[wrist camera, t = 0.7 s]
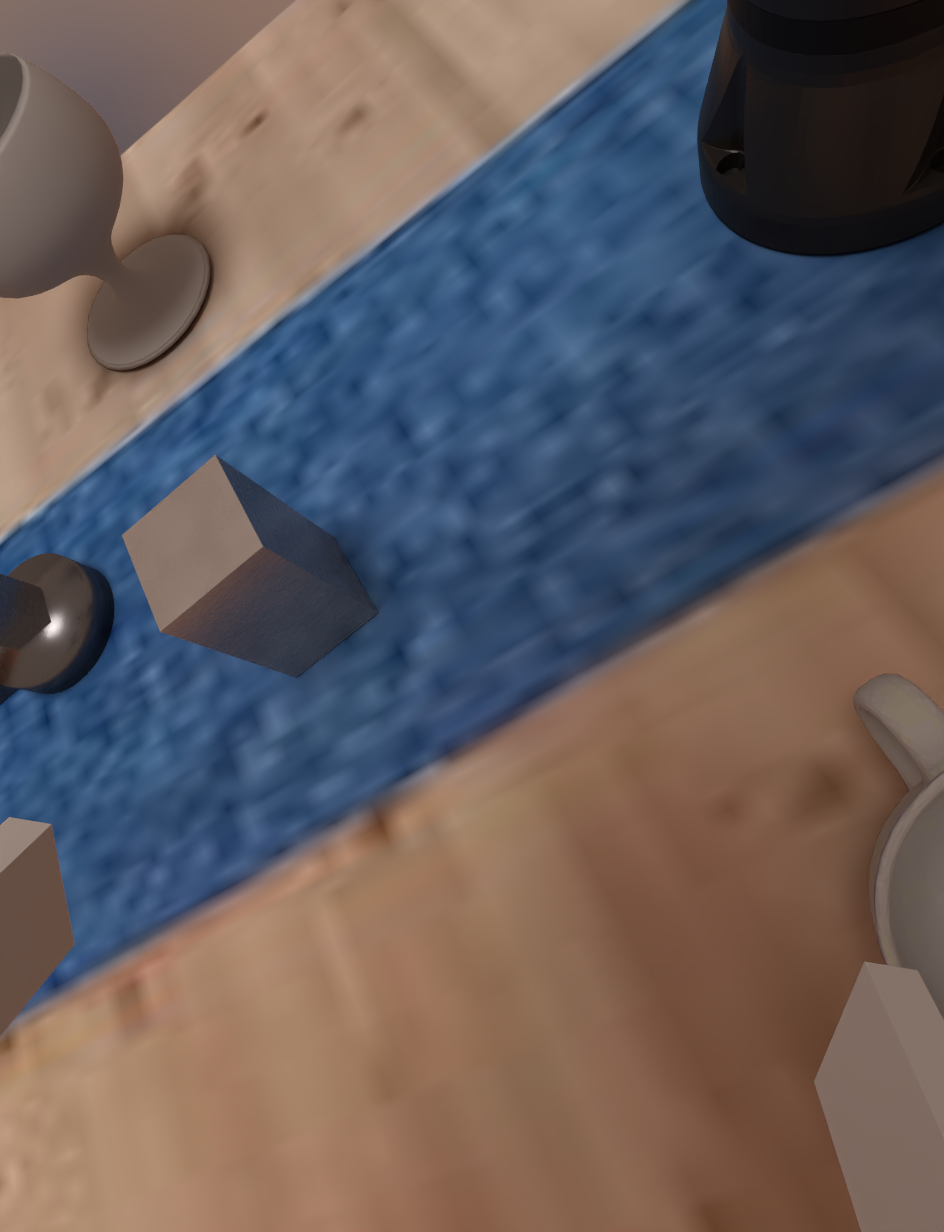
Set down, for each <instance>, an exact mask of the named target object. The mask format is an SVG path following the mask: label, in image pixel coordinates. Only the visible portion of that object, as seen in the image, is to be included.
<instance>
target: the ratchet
mask: <svg viewBox="0 0 944 1232" xmlns="http://www.w3.org/2000/svg"><path fill="white" fill-rule="evenodd" d="M113 619H114V599H113V594H112V590H111V587H110V585H109V583H108V581H107V580H106V578H105V577H104V576H103V575H102V574H101V573H100V572H99V571H97V570H96V569H93V568H91V567H88V566H86V565H83V564H81V563H78V562H76V561H73V560H71V559H68V558H66V557H63V556H61V555H58V554H53V553H46V554H40V555H37V556H34V557H32V558H30V559H28V560H26V561H25V562H23V563H22V564H20V565H19V566H18V567H16V568H15V569H14V570H13V571H12V572H11V573H10V574H9V575H8V576H6V575H3V574H0V705H1V704H2V703H3V702H4V701H5V700H7V699H8V698H9V697H10V696H11V695H13V694H14V693H15V692H16V691H17V690H18V689H22V690H27V691H32V692H38V693H43V694H54V693H58V692H61V691H64V690H66V689H68V688H70V687H72V686H74V685H75V684H76V683H78V682H79V681H80V680H81V679H82V678H83V677H85V676H86V675H87V674H88V672H89V671H90V670H91V669H92V668H93V666H94V665H95V664H96V662H97V661H98V659H99V658H100V656H101V654H102V652H103V650H104V648H105V646H106V644H107V641H108V639H109V636H110V633H111V629H112V624H113Z"/></svg>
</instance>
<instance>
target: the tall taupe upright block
mask: <svg viewBox="0 0 944 1232" xmlns="http://www.w3.org/2000/svg"><path fill="white" fill-rule="evenodd" d="M122 537H123V539H124V542H125V544H126V547H127V550H128V552H129V555H130V557H131V560H132V562H133V565H134V567H135V570H136V572H137V575H138V577H139V580H140V582H141V585H142V587H143V590H144V592H145V595H146V597H147V600H148V602H149V605H150V607H151V610H152V612H153V615H154V617H155V620H156V622H157V625H158V627H159V630H160V632H162V633H165V634H168V635H171V636H174V637H177V638H180V639H183V640H186V641H189V642H192V643H195V644H198V645H201V646H204V647H207V648H210V649H213V650H216V651H219V652H222V653H225V654H228V655H231V656H234V657H237V658H240V659H242V660H245V661H248V662H251V663H254V664H257V665H260V666H263V667H266V668H269V669H272V670H275V671H278V672H281V673H284V674H287V675H290V676H293V677H296V678H297V677H298V676H299V675H300V674H302V673H303V672H304V671H306V670H307V669H308V668H309V667H311V666H312V665H313V664H314V663H316V662H317V661H318V660H319V659H321V658H322V657H323V656H325V655H326V654H327V653H328V652H330V651H331V650H332V649H333V648H335V647H336V646H337V645H338V644H340V643H341V642H342V641H344V640H345V639H346V638H347V637H349V636H350V635H351V634H352V633H354V632H355V631H356V630H358V629H359V628H360V627H361V626H363V625H364V624H365V623H366V622H368V621H369V620H370V619H371V618H373V617H374V616H375V615H377V614H378V612H377V610H376V608H375V606H374V605H373V603H372V601H371V600H370V598H369V596H368V595H367V593H366V591H365V589H364V588H363V586H362V584H361V583H360V581H359V579H358V578H357V576H356V574H355V572H354V571H353V569H352V567H351V566H350V564H349V562H348V561H347V559H346V557H345V555H344V554H343V552H342V550H341V549H340V547H339V545H338V544H337V542H336V540H335V539H334V537H333V536H332V535H330V534H329V533H327V532H326V531H324V530H323V529H321V528H320V527H319V526H317V525H316V524H314V523H313V522H311V521H310V520H309V519H307V518H306V517H304V516H303V515H301V514H300V513H298V512H297V511H296V510H294V509H293V508H291V507H290V506H288V505H287V504H285V503H284V502H283V501H281V500H280V499H278V498H277V497H275V496H274V495H273V494H271V493H270V492H268V491H267V490H265V489H264V488H262V487H261V486H260V485H258V484H257V483H255V482H254V481H252V480H251V479H250V478H248V477H247V476H245V475H244V474H242V473H241V472H239V471H238V470H237V469H235V468H234V467H232V466H231V465H229V464H228V463H226V462H225V461H224V460H222V459H221V458H219V457H218V456H216V455H214V456H213V457H212V458H211V459H210V460H209V461H208V462H206V463H205V464H204V465H203V466H202V467H201V468H199V469H198V470H197V471H196V472H195V473H194V474H192V475H191V476H190V477H189V478H188V479H187V480H186V481H184V482H183V483H182V484H181V485H180V486H179V487H177V488H176V489H175V490H174V491H173V492H172V493H171V494H169V495H168V496H167V497H166V498H165V499H164V500H162V501H161V502H160V503H159V504H158V505H157V506H156V507H154V508H153V509H152V510H151V511H150V512H149V513H147V514H146V515H145V516H144V517H143V518H142V519H140V520H139V521H138V522H137V523H136V524H135V525H134V526H132V527H131V528H130V529H129V530H128V531H127V532H125V533H124V534H123V535H122Z"/></svg>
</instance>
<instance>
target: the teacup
mask: <svg viewBox="0 0 944 1232" xmlns="http://www.w3.org/2000/svg"><path fill="white" fill-rule="evenodd" d="M853 701H854V707H855V709H856V712H857V714H858V716H859V717H860V719H861V721H862V722H863V724H864V725H865V727H866V728H867V730H868V731H869V733H870V735H871V736H872V738H873V739H874V740H875V742H876V743H877V744H878V745H879V747H880V748H881V750H882V751H883V752H884V754H885V755H886V756H887V758H888V759H889V760H890V761H891V763H892V764H893V765H894V767H895V768H896V769H897V771H898V772H899V774H900V775H901V777H902V779H903V780H904V782H905V784H906V785H907V787H908V788H909V790H910V791H909V792H908V793H907V794H906V795H905V796H904V797H903V798H902V800H901V801H900V802H899V803H898V805H897V806H896V807H895V809H894V810H893V811H892V813H891V814H890V816H889V817H888V819H887V820H886V822H885V824H884V826H883V828H882V829H881V832H880V834H879V836H878V839H877V841H876V843H875V847H874V851H873V855H872V858H871V864H870V872H869V898H870V908H871V914H872V919H873V923H874V928H875V931H876V935H877V938H878V943H879V947H880V950H881V954H882V957H883V959H884V962H885V964H886V965H889V966H894V967H900V968H906V969H912V970H918V972H919V974H920V976H921V978H922V980H923V982H924V984H925V985H926V987H927V989H928V991H929V993H930V995H931V997H932V999H933V1001H934V1002H935V1004H936V1006H937V1008H938V1010H939V1012H940V1014H941V1016H942V1018H943V1020H944V712H943V711H942V710H941V709H940V708H939V707H938V706H937V705H936V704H935V703H934V702H933V701H932V700H931V698H930V697H929V696H928V695H927V694H926V693H924V692H923V691H922V690H921V689H920V688H918V687H917V686H916V685H915V684H913V683H912V682H911V681H909V680H907V679H905V678H904V677H902V676H900V675H898V674H883V675H879V676H876V677H874V678H872V679H870V680H869V681H868V682H867V683H865V684H864V685H863V686H861V687H860V688H859V689H858V690H857V692H856V694H855V696H854V698H853Z"/></svg>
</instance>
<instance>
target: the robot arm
mask: <svg viewBox="0 0 944 1232" xmlns="http://www.w3.org/2000/svg"><path fill="white" fill-rule="evenodd" d="M697 144H698V156H699V167H700V177H701V183H702V187H703V191H704V193H705V196H706V198H707V200H708V202H709V204H710V206H711V207H712V209H713V210H714V212H715V213H716V214H717V216H718V217H719V218H720V219H721V220H722V221H723V222H724V223H725V224H726V225H727V226H729V227H730V228H731V229H732V230H734V231H735V232H737V233H738V234H740V235H742V236H743V237H745V238H747V239H749V240H751V241H753V242H756V243H758V244H761V245H764V246H767V247H770V248H774V249H777V250H782V251H787V252H795V253H804V254H836V253H846V252H854V251H860V250H865V249H870V248H875V247H879V246H882V245H886V244H890V243H893V242H896V241H899V240H902V239H905V238H908V237H910V236H913V235H915V234H918V233H920V232H922V231H924V230H927V229H929V228H931V227H933V226H935V225H937V224H939V223H941V222H943V221H944V0H727V8H726V12H725V16H724V20H723V24H722V28H721V32H720V36H719V39H718V43H717V47H716V51H715V55H714V59H713V63H712V67H711V71H710V75H709V79H708V83H707V87H706V90H705V94H704V98H703V102H702V106H701V110H700V115H699V121H698V133H697ZM74 945H75V944H74V939H73V933H72V928H71V923H70V918H69V913H68V908H67V902H66V897H65V892H64V887H63V882H62V876H61V871H60V866H59V861H58V856H57V850H56V845H55V840H54V835H53V830H52V825H51V824H46V823H41V822H35V821H29V820H23V819H17V818H11V817H9V818H8V819H7V820H6V821H4V822H3V823H2V824H1V825H0V1036H1V1035H2V1033H3V1032H4V1031H5V1030H6V1028H7V1027H8V1026H9V1025H10V1024H11V1022H12V1021H13V1020H14V1019H15V1017H16V1016H17V1015H18V1014H19V1012H20V1011H21V1010H22V1009H23V1007H24V1006H25V1005H26V1004H27V1003H28V1001H29V1000H30V999H31V998H32V996H33V995H34V994H35V993H36V991H37V990H38V989H39V988H40V987H41V985H42V984H43V983H44V982H45V980H46V979H47V978H48V977H49V975H50V974H51V973H52V972H53V970H54V969H55V968H56V967H57V966H58V964H59V963H60V962H61V961H62V959H63V958H64V957H65V956H66V954H67V953H68V952H69V951H70V949H71V948H72V947H73V946H74ZM814 1083H815V1087H816V1090H817V1093H818V1096H819V1099H820V1103H821V1106H822V1109H823V1112H824V1115H825V1118H826V1122H827V1125H828V1128H829V1131H830V1134H831V1138H832V1141H833V1144H834V1147H835V1150H836V1154H837V1157H838V1160H839V1163H840V1166H841V1169H842V1173H843V1176H844V1179H845V1182H846V1185H847V1189H848V1192H849V1195H850V1198H851V1201H852V1205H853V1208H854V1211H855V1214H856V1217H857V1220H858V1224H859V1227H860V1230H861V1232H944V1020H943V1018H942V1016H941V1014H940V1012H939V1010H938V1008H937V1006H936V1004H935V1002H934V1001H933V999H932V997H931V995H930V993H929V991H928V989H927V987H926V985H925V984H924V982H923V980H922V978H921V976H920V974H919V972H918V970H912V969H906V968H900V967H894V966H889V965H883V964H877V963H871V962H865V961H864V963H863V965H862V968H861V970H860V973H859V975H858V977H857V980H856V982H855V985H854V987H853V989H852V992H851V994H850V996H849V999H848V1001H847V1004H846V1006H845V1008H844V1011H843V1013H842V1016H841V1018H840V1020H839V1023H838V1025H837V1027H836V1030H835V1032H834V1035H833V1037H832V1039H831V1042H830V1044H829V1047H828V1049H827V1051H826V1054H825V1056H824V1058H823V1061H822V1063H821V1066H820V1068H819V1070H818V1073H817V1075H816V1078H815V1080H814Z"/></svg>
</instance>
